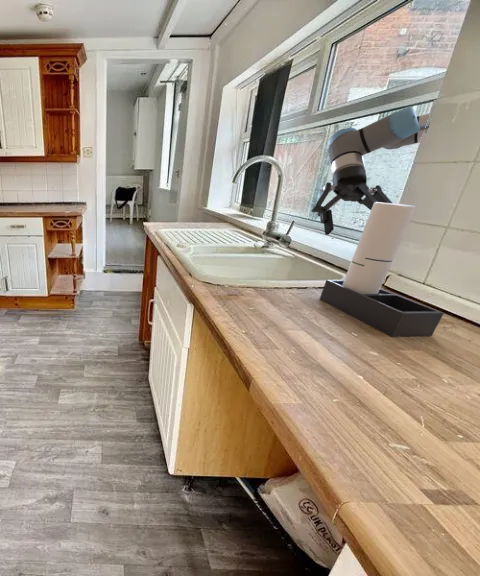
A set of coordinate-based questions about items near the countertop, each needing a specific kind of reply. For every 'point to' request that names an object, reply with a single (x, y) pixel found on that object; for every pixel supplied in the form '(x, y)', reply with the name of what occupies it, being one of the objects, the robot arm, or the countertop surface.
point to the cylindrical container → (377, 246)
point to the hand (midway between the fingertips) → (357, 234)
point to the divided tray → (383, 310)
